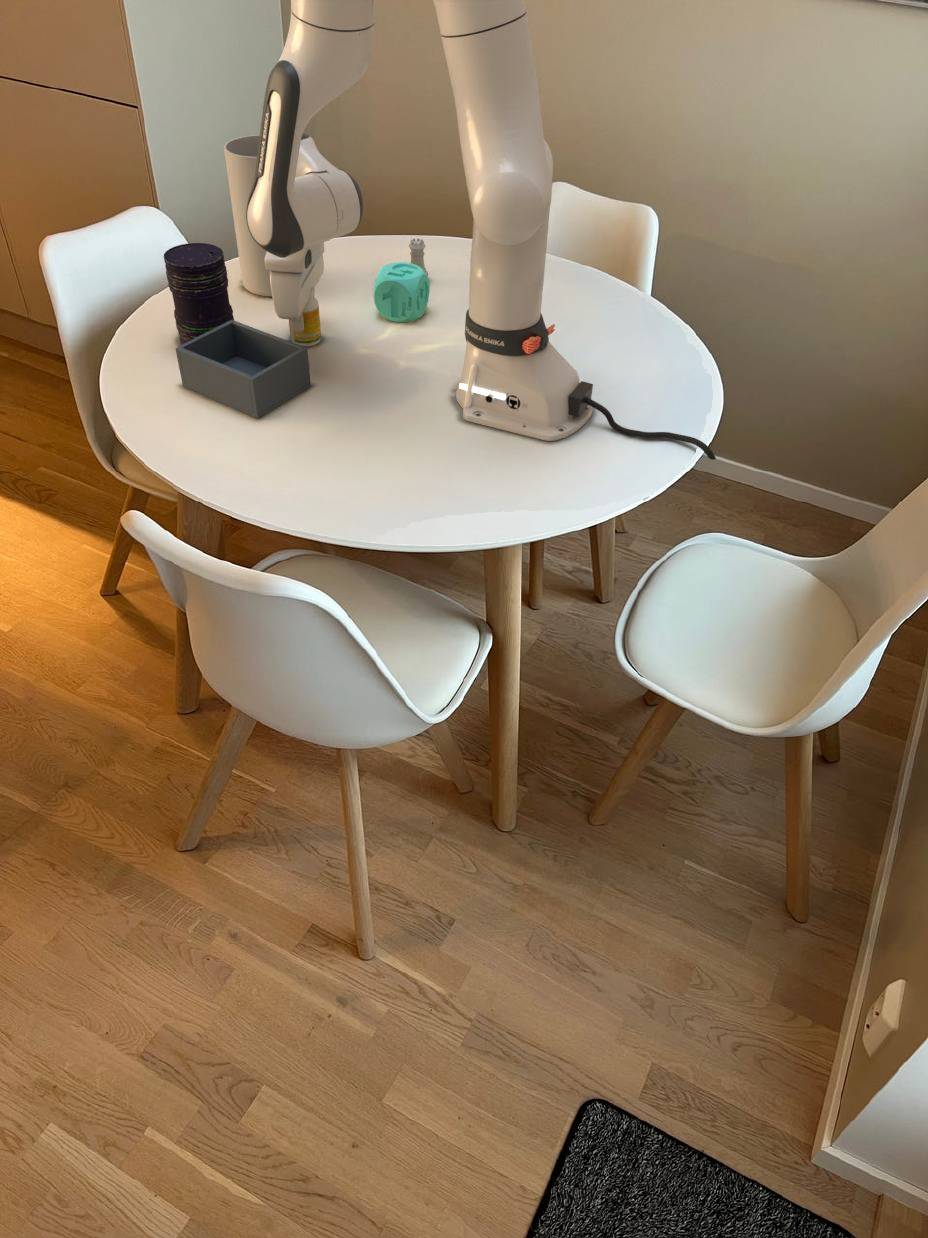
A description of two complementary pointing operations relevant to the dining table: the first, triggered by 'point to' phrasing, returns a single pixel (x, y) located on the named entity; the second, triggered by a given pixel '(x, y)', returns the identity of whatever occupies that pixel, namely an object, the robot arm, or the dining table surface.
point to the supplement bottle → (308, 324)
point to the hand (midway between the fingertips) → (304, 320)
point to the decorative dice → (401, 292)
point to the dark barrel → (198, 288)
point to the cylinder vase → (240, 183)
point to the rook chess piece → (417, 253)
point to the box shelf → (244, 368)
